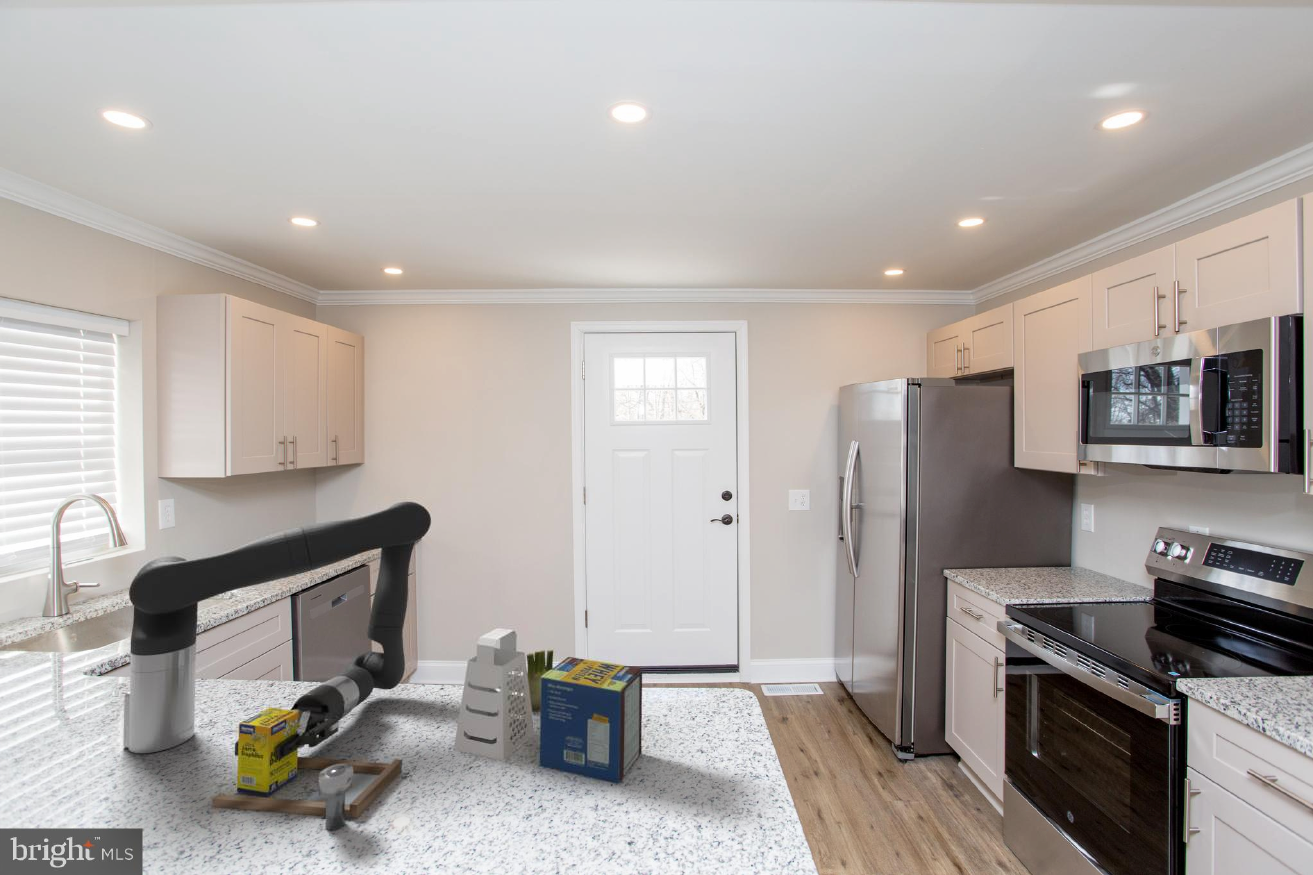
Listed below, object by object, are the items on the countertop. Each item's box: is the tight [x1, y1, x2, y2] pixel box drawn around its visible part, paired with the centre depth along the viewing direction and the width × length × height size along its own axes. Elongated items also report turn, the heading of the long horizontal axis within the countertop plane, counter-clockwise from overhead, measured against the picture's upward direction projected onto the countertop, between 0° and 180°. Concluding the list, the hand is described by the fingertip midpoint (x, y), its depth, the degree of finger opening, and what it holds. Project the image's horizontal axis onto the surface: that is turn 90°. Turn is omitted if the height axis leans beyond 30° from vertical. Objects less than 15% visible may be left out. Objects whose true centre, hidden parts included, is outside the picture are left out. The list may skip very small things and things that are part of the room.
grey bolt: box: [317, 764, 354, 832], centre depth 85 cm, size 4×4×8 cm
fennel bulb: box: [526, 649, 554, 711], centre depth 123 cm, size 6×5×12 cm
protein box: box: [538, 656, 643, 784], centre depth 103 cm, size 10×15×16 cm
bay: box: [211, 756, 403, 819], centre depth 94 cm, size 23×12×2 cm, turn 84°
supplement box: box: [236, 707, 299, 798], centre depth 94 cm, size 6×6×11 cm
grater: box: [453, 627, 536, 762], centre depth 109 cm, size 10×10×20 cm
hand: (257, 751), depth 92 cm, fingers closed on supplement box, 6 cm apart
